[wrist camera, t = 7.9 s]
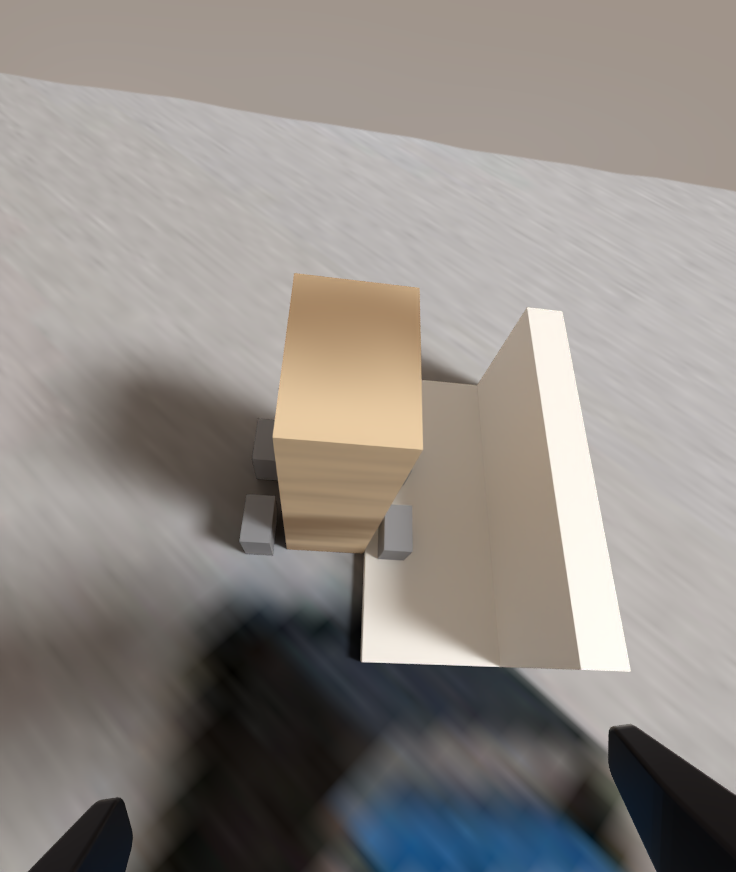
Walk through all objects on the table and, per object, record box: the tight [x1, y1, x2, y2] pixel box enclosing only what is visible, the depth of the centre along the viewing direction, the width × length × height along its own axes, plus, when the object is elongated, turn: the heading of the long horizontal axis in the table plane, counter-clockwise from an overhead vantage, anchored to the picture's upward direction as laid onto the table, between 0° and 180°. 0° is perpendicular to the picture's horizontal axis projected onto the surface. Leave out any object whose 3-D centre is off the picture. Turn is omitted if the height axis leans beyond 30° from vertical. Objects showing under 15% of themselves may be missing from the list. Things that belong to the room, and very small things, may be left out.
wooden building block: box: [273, 273, 423, 554], centre depth 17 cm, size 5×4×12 cm
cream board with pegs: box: [239, 307, 631, 671], centre depth 20 cm, size 14×14×7 cm
